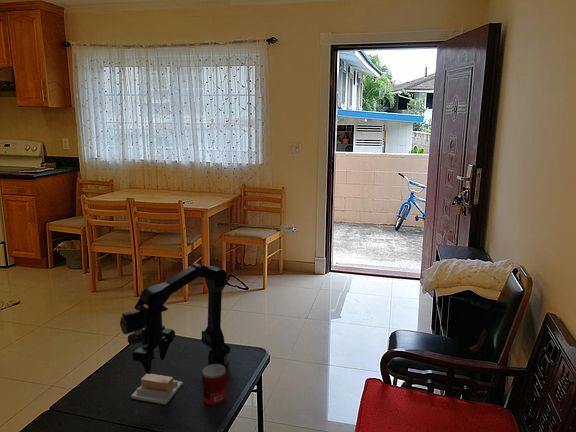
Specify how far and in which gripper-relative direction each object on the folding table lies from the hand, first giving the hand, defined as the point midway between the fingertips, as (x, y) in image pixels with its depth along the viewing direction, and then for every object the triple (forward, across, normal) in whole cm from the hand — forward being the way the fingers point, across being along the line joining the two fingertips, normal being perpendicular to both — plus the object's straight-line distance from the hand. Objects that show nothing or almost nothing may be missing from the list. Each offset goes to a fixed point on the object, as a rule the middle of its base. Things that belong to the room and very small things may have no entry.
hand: (155, 366), depth 156 cm
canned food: (+10, -1, +21) cm, 23 cm away
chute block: (+8, 0, 0) cm, 8 cm away
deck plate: (+9, 0, 0) cm, 9 cm away
